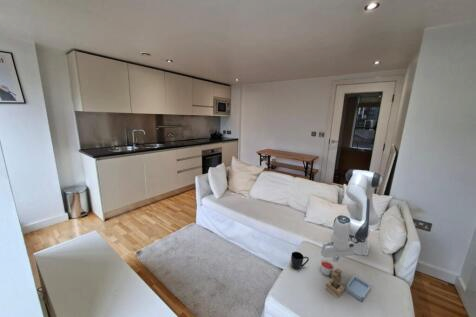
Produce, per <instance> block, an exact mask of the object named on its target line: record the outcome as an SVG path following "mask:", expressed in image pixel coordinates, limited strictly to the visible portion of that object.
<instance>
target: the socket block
mask: <svg viewBox="0 0 476 317" xmlns="http://www.w3.org/2000/svg"><path fill="white" fill-rule="evenodd" d="M333 280H334V278H331V277H330V280H328V281H327V283H325V288H324V289H325V290H326V291H327V292H329V293H330V294H331V295H333V296H334V297H335V298H337V299H339V297H340V296H341V295H342V294H343V293H344V292H345V286H346V285H344V284H343V283H341V282H340V281H339V284H338V289H336V288H335V287H333Z"/></svg>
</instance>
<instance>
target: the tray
mask: <svg viewBox="0 0 476 317" xmlns="http://www.w3.org/2000/svg"><path fill="white" fill-rule="evenodd" d="M344 286H345V288H344V292H345V293H348V294H350V295H351V296H353V298H355V299H356V300H358V301H359V302H361V303H363V301H364V300H365V298H366V297H367V296H368V294H369V292H370V291H371V287H372V285H371V284H369V283H367V282H366V281H364V280H363V279H361V278H359V277H358V276H356V274H355V275H353V277H351V279H350V280H349V281H348V283H347V284H346V285H344Z"/></svg>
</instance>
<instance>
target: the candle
mask: <svg viewBox="0 0 476 317" xmlns="http://www.w3.org/2000/svg"><path fill="white" fill-rule="evenodd" d="M334 270H335V264H334V263H333V262H332V261H330V260H329V259H321V261H320V272H321V273H322V274H323V275H325V276H331V274H332V272H333V271H334Z"/></svg>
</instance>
